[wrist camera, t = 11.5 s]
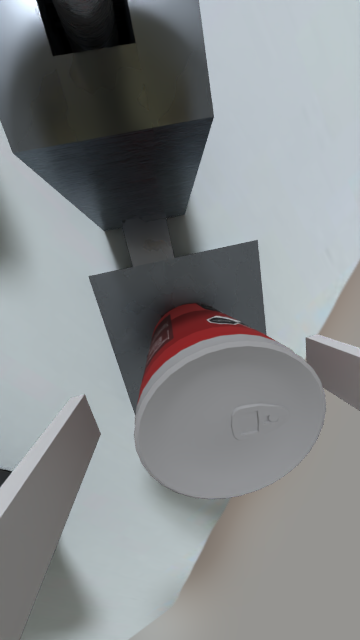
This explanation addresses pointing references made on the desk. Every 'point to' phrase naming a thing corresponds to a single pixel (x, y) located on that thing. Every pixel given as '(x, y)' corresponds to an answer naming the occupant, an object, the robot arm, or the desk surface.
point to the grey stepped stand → (126, 157)
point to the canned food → (223, 406)
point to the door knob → (88, 23)
